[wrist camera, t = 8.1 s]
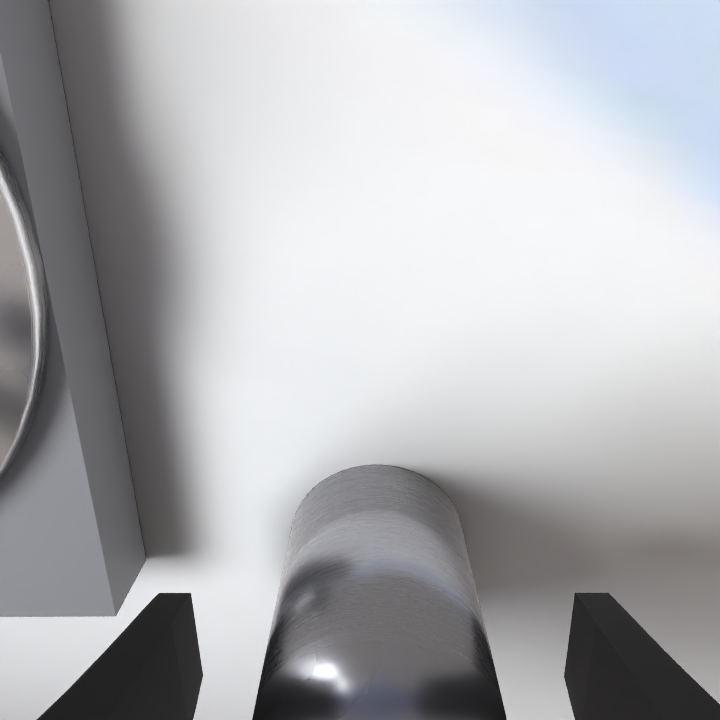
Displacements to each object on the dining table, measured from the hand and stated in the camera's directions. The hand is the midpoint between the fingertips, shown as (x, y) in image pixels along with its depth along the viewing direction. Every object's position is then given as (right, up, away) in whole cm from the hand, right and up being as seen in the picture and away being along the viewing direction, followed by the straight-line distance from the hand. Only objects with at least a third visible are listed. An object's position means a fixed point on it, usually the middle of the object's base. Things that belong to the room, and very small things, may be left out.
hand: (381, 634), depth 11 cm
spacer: (0, +1, +3) cm, 3 cm away
